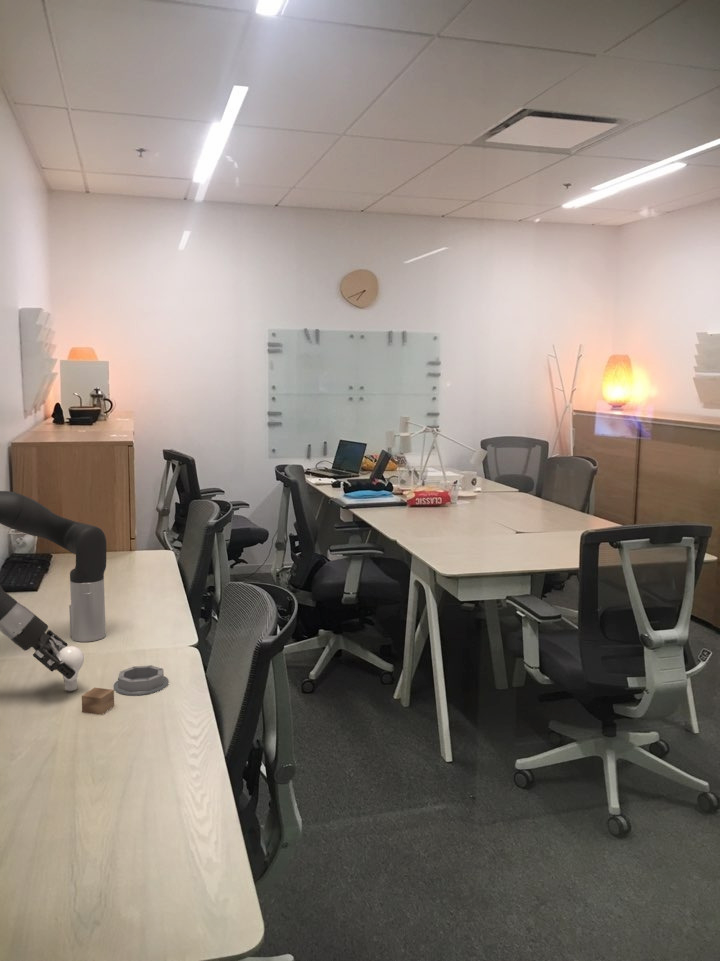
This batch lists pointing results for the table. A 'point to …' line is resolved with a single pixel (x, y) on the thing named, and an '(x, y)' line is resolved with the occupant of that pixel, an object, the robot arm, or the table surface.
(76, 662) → the lightbulb
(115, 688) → the socket collar
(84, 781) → the table surface
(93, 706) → the walnut block
